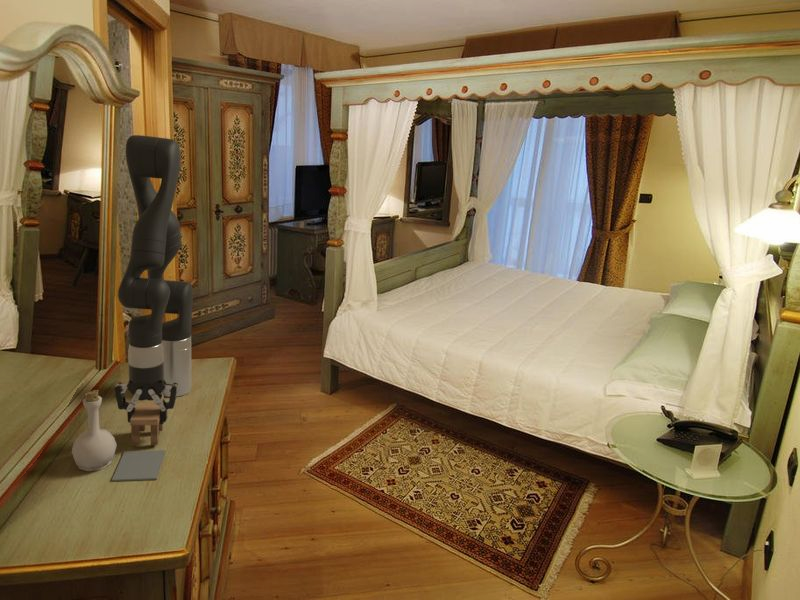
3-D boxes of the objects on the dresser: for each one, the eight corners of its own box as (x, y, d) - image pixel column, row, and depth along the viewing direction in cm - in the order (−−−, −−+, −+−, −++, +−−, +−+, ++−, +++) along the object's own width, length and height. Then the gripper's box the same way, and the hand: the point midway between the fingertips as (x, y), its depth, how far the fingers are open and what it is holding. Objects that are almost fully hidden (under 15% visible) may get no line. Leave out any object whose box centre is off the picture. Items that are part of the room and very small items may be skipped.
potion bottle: (98, 477, 117) (95, 403, 112) (63, 468, 119) (58, 394, 114) (126, 456, 126) (124, 386, 121) (92, 448, 127) (89, 378, 122)
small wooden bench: (138, 428, 136) (137, 403, 134) (164, 427, 137) (163, 403, 135) (131, 445, 128) (130, 419, 126) (158, 445, 130) (157, 419, 128)
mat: (124, 452, 127) (124, 451, 127) (165, 451, 129) (165, 450, 129) (111, 481, 116) (111, 479, 116) (156, 479, 119) (156, 478, 119)
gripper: (181, 354, 132) (181, 414, 137) (116, 353, 129) (119, 415, 133) (176, 367, 125) (176, 430, 130) (108, 366, 122) (111, 431, 126)
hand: (147, 422), depth 132 cm, fingers closed on small wooden bench, 6 cm apart
